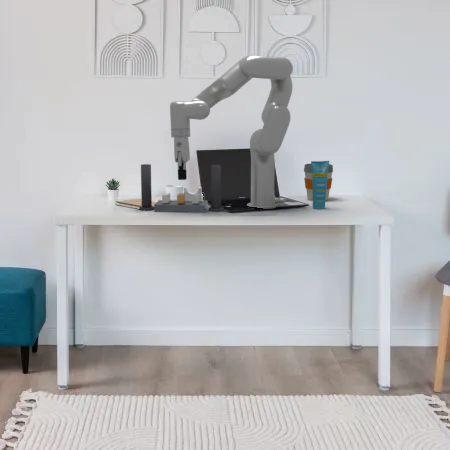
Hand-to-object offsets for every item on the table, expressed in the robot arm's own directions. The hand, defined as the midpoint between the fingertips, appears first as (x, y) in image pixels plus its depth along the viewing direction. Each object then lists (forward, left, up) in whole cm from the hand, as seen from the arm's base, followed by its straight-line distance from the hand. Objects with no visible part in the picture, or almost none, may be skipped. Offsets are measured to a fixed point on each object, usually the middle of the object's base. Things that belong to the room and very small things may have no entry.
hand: (182, 179), depth 306 cm
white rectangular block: (+7, 0, -9) cm, 11 cm away
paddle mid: (+1, 0, -9) cm, 9 cm away
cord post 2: (-13, 0, -12) cm, 18 cm away
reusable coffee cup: (-54, -32, -13) cm, 64 cm away
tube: (-54, -9, -13) cm, 57 cm away
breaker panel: (+1, 0, -12) cm, 12 cm away
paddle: (-5, 0, -9) cm, 11 cm away
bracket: (-2, -18, -13) cm, 22 cm away
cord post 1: (+15, 0, -12) cm, 19 cm away
